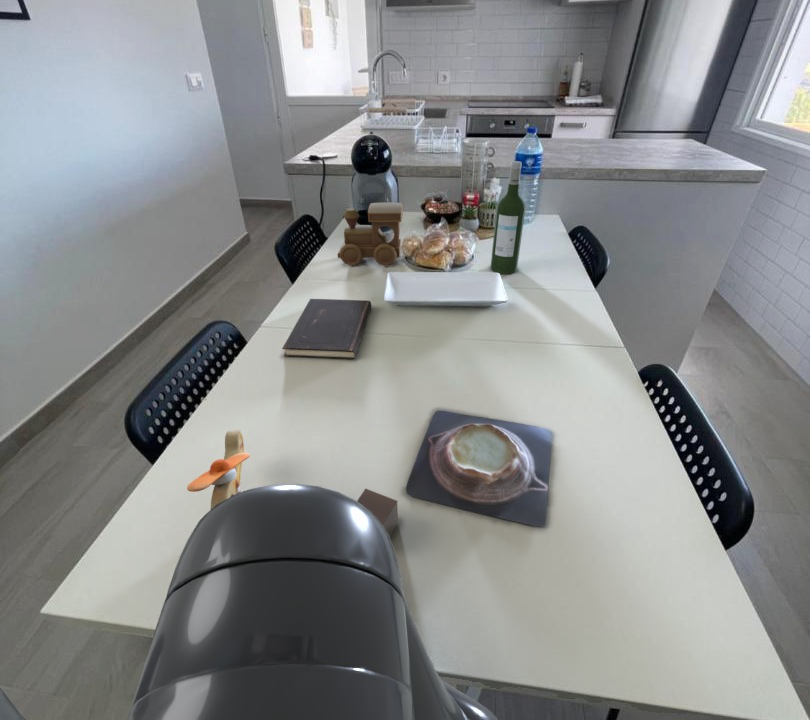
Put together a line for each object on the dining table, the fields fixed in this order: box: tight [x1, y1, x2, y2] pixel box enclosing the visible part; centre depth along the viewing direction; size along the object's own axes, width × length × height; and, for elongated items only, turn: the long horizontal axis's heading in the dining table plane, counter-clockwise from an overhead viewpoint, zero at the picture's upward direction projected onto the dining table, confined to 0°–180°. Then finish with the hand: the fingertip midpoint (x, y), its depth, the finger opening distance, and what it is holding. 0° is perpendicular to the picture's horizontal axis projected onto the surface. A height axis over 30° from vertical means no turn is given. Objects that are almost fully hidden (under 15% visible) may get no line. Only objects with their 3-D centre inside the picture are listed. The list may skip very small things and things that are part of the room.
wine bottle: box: [490, 160, 527, 275], centre depth 126 cm, size 8×8×30 cm
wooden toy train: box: [337, 201, 404, 267], centre depth 136 cm, size 20×11×17 cm, turn 88°
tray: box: [383, 271, 509, 307], centre depth 119 cm, size 17×31×4 cm, turn 88°
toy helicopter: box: [186, 430, 251, 511], centre depth 61 cm, size 8×21×14 cm, turn 13°
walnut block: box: [356, 488, 399, 538], centre depth 61 cm, size 5×5×5 cm
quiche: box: [405, 409, 553, 528], centre depth 72 cm, size 21×20×4 cm
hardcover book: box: [282, 298, 373, 360], centre depth 106 cm, size 16×23×2 cm
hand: (249, 518), depth 56 cm, fingers closed
